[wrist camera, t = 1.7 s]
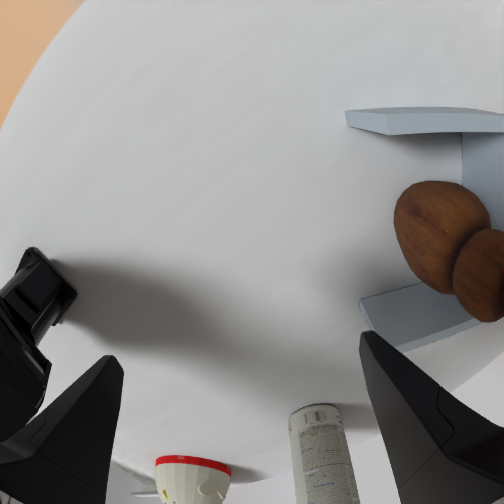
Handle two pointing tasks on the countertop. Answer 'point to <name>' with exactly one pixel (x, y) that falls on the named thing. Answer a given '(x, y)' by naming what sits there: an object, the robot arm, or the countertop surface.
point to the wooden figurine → (453, 245)
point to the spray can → (321, 457)
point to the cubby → (474, 179)
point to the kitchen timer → (191, 480)
